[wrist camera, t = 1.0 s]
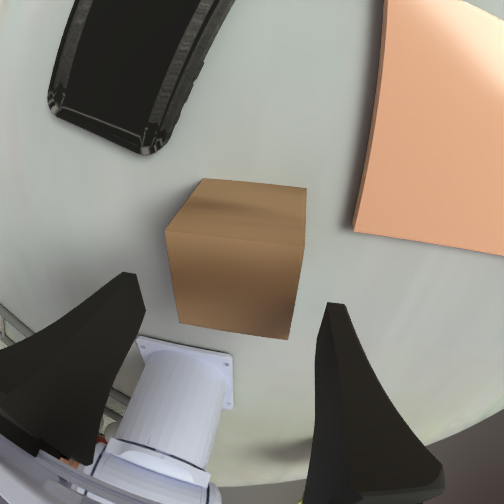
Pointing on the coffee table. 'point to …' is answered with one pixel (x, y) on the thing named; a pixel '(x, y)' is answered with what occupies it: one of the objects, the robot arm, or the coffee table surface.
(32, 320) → the coffee table surface
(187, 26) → the phone
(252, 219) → the walnut cube
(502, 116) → the terracotta tile
